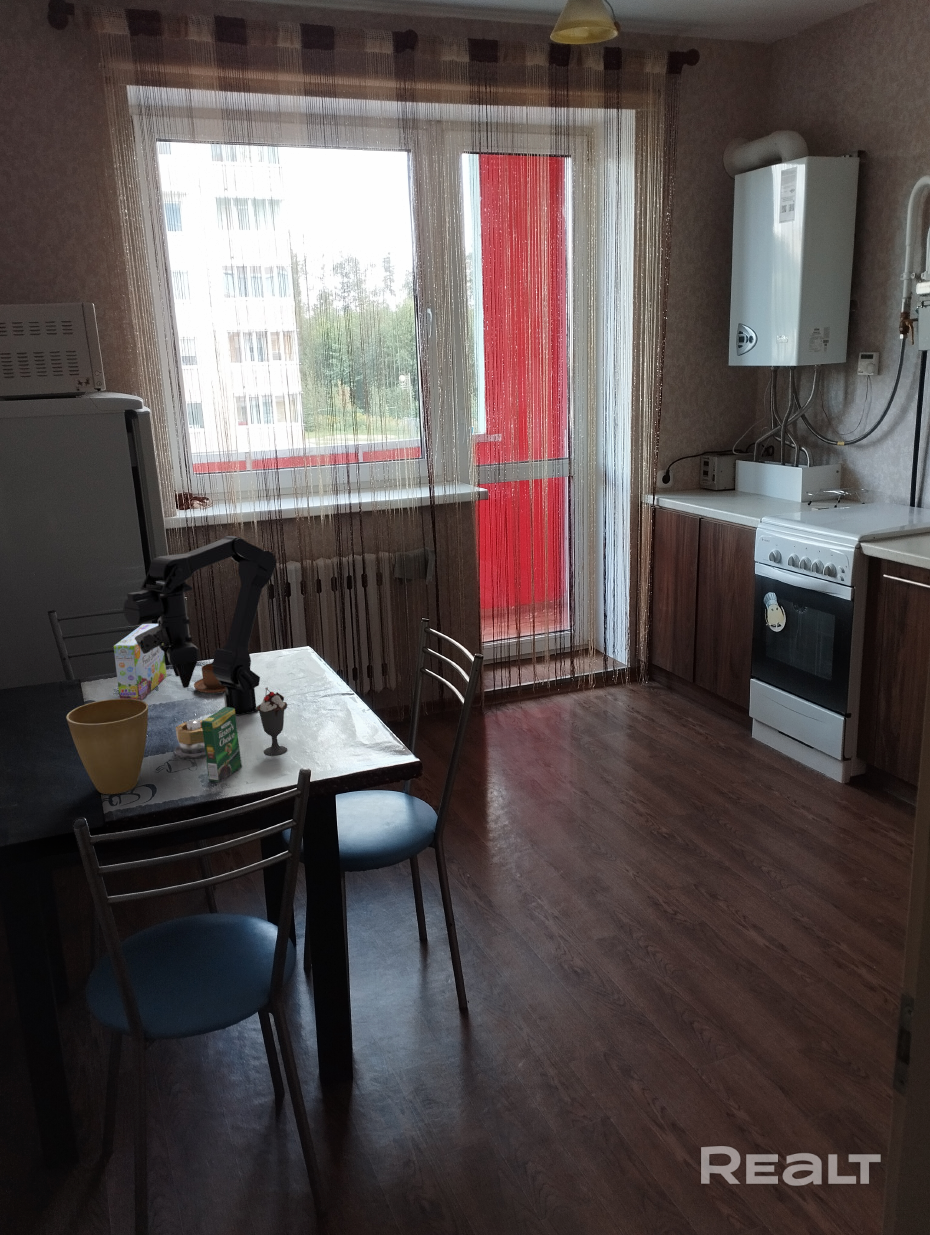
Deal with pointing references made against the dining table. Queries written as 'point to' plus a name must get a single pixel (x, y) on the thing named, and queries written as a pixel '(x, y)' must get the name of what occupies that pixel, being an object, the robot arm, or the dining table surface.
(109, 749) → the plant pot
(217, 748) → the coffee box
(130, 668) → the snack box
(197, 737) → the ring
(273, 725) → the sundae
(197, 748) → the silver flanged knob
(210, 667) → the cup and saucer
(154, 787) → the dining table surface
